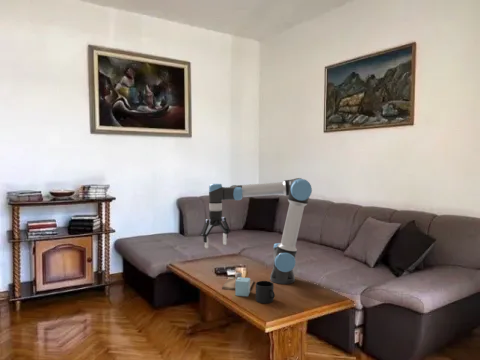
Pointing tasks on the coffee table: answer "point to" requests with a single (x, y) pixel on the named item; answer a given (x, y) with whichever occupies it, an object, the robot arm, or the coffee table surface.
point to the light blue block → (242, 286)
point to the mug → (264, 292)
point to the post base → (234, 282)
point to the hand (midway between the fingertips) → (215, 246)
